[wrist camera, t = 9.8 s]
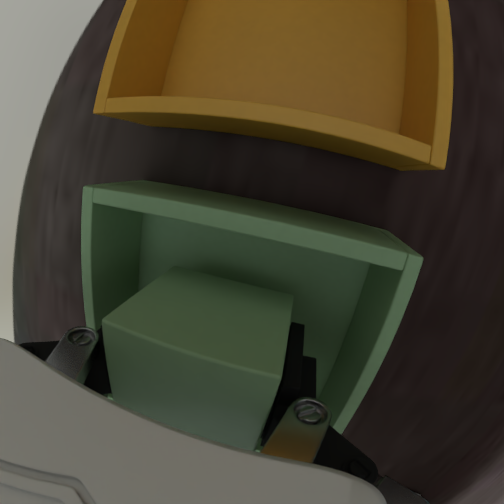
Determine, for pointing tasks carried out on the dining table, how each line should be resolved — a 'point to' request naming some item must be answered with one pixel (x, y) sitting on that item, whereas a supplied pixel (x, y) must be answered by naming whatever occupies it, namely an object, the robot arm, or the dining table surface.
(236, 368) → the green block
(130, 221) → the green bin
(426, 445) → the dining table surface
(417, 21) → the ochre bin
